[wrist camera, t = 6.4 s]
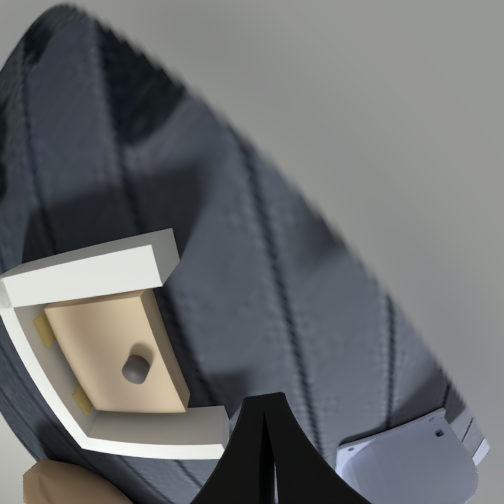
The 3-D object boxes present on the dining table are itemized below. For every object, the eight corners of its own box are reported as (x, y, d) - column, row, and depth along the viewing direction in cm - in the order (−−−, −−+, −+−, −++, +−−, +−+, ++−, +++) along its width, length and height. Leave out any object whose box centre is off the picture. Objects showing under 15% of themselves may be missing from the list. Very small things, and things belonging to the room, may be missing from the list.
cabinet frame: (172, 228, 12) (151, 244, 9) (229, 420, 15) (228, 457, 12) (20, 264, 12) (-12, 281, 9) (96, 419, 15) (82, 448, 12)
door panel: (153, 279, 13) (133, 304, 10) (191, 388, 15) (184, 423, 12) (62, 293, 13) (35, 315, 10) (106, 390, 15) (91, 418, 12)
